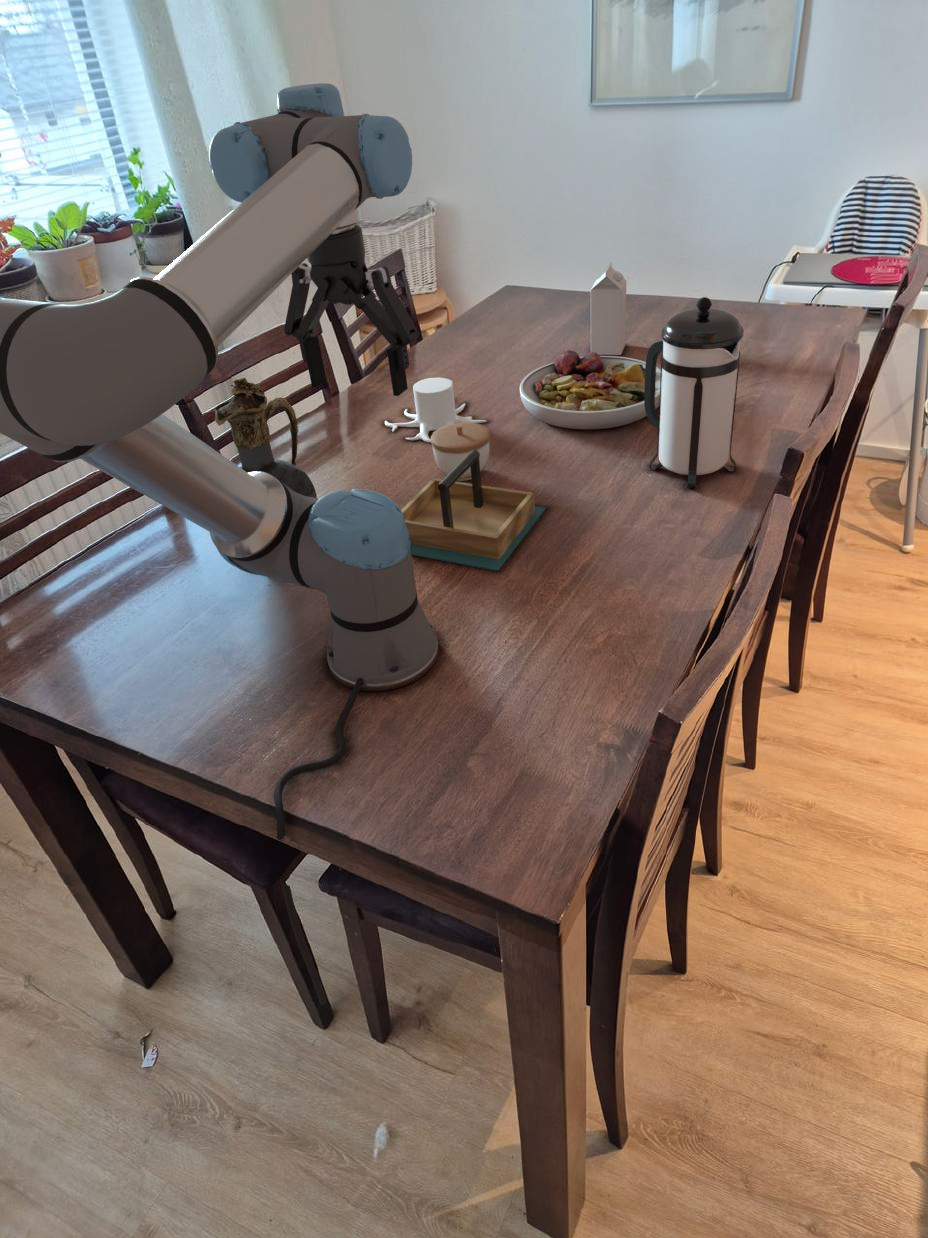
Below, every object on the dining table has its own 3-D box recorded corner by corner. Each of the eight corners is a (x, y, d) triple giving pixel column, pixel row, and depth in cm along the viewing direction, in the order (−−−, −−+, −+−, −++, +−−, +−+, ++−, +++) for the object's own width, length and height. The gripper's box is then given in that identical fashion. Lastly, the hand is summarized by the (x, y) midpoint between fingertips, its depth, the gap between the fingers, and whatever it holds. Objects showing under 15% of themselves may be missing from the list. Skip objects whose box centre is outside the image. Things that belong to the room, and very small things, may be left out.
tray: (498, 560, 135) (493, 496, 128) (394, 540, 142) (384, 479, 136) (534, 513, 145) (531, 452, 139) (435, 497, 153) (428, 439, 146)
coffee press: (738, 450, 157) (756, 280, 139) (732, 492, 145) (751, 313, 128) (643, 445, 162) (648, 281, 145) (629, 485, 151) (634, 312, 133)
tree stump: (468, 396, 189) (465, 360, 184) (493, 430, 174) (491, 392, 169) (379, 414, 186) (374, 377, 181) (397, 450, 171) (391, 411, 166)
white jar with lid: (487, 487, 155) (483, 439, 149) (429, 486, 157) (423, 439, 152) (497, 460, 163) (493, 413, 158) (442, 459, 165) (436, 413, 160)
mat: (497, 571, 133) (497, 569, 133) (381, 549, 141) (381, 547, 141) (545, 509, 147) (545, 507, 147) (437, 492, 155) (436, 490, 155)
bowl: (696, 413, 171) (698, 374, 167) (561, 449, 164) (560, 410, 159) (619, 367, 194) (620, 332, 190) (498, 397, 187) (495, 362, 182)
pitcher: (227, 579, 138) (173, 402, 120) (292, 520, 152) (251, 353, 134) (284, 590, 134) (236, 408, 116) (345, 529, 148) (310, 357, 130)
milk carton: (590, 355, 202) (590, 271, 191) (595, 344, 207) (595, 262, 196) (620, 355, 200) (622, 271, 189) (625, 345, 205) (626, 261, 194)
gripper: (431, 220, 107) (449, 385, 119) (269, 218, 117) (301, 370, 129) (402, 236, 101) (423, 406, 114) (235, 233, 111) (272, 389, 124)
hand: (359, 387), depth 122 cm, fingers open, 13 cm apart
